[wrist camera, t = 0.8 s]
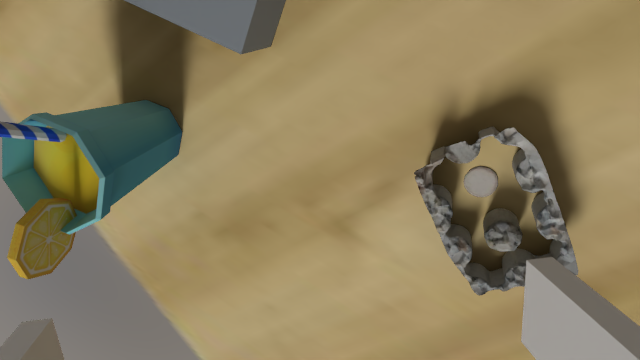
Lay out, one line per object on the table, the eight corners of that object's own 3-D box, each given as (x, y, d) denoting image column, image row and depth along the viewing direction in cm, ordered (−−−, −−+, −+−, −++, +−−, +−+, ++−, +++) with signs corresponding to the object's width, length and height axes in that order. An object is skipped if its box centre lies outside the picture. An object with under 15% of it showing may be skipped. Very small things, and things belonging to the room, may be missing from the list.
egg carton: (412, 150, 33) (406, 169, 29) (522, 111, 30) (531, 126, 26) (465, 277, 35) (466, 310, 31) (572, 252, 32) (587, 284, 29)
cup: (88, 34, 36) (-132, 55, 23) (176, 26, 34) (-10, 43, 20) (130, 201, 41) (-32, 301, 27) (209, 202, 39) (76, 312, 25)
